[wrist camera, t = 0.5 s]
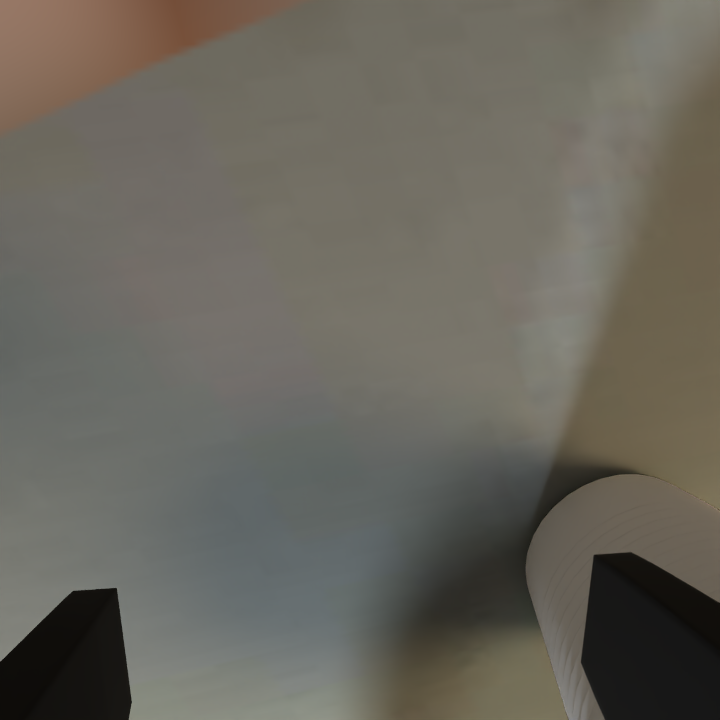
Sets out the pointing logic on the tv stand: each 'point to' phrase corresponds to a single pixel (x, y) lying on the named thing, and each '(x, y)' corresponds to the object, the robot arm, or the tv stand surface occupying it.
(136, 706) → the tv stand surface
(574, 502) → the cup
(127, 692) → the robot arm
